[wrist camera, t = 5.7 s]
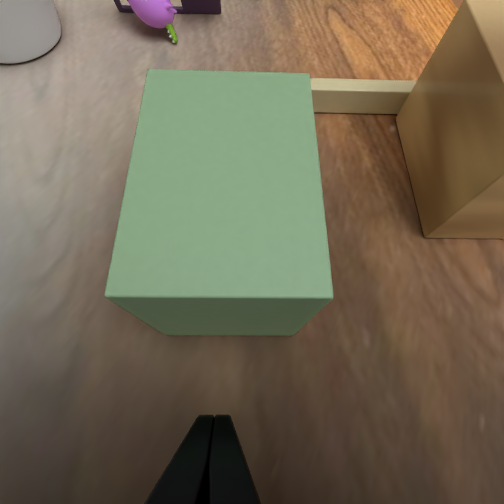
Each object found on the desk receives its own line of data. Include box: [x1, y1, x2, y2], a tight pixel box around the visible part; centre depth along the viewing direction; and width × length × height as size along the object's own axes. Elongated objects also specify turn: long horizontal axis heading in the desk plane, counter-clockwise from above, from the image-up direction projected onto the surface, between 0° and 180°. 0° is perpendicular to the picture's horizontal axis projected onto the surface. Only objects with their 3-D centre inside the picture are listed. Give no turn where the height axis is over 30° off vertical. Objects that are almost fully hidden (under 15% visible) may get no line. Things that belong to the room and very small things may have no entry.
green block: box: [105, 69, 334, 336], centre depth 15 cm, size 10×7×8 cm
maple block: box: [396, 0, 504, 239], centre depth 18 cm, size 10×7×8 cm
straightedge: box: [310, 78, 417, 114], centre depth 23 cm, size 1×24×2 cm, turn 90°
